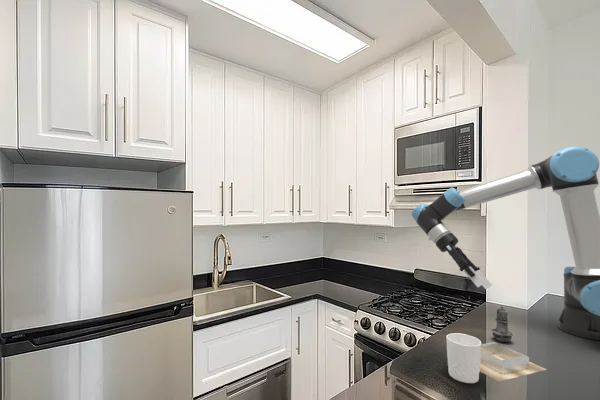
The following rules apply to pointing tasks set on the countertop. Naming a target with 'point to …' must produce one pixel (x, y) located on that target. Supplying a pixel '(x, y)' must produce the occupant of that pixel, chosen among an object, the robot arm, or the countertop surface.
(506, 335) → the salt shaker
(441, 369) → the countertop surface
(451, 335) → the white cup
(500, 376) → the flange board
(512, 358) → the collar
